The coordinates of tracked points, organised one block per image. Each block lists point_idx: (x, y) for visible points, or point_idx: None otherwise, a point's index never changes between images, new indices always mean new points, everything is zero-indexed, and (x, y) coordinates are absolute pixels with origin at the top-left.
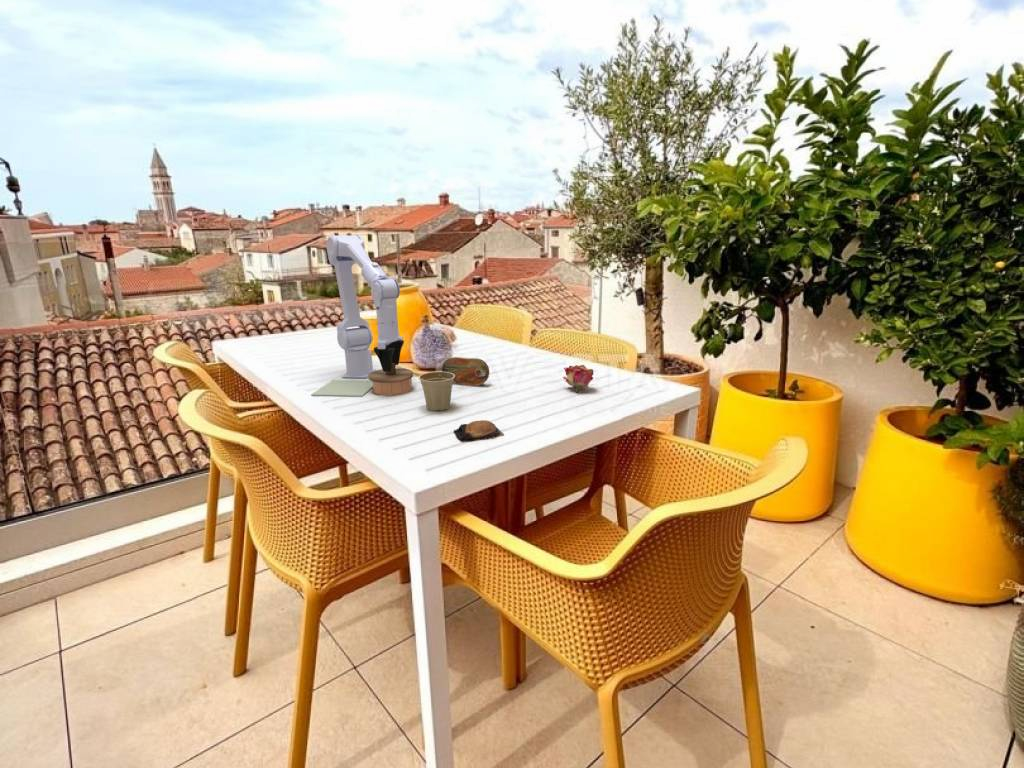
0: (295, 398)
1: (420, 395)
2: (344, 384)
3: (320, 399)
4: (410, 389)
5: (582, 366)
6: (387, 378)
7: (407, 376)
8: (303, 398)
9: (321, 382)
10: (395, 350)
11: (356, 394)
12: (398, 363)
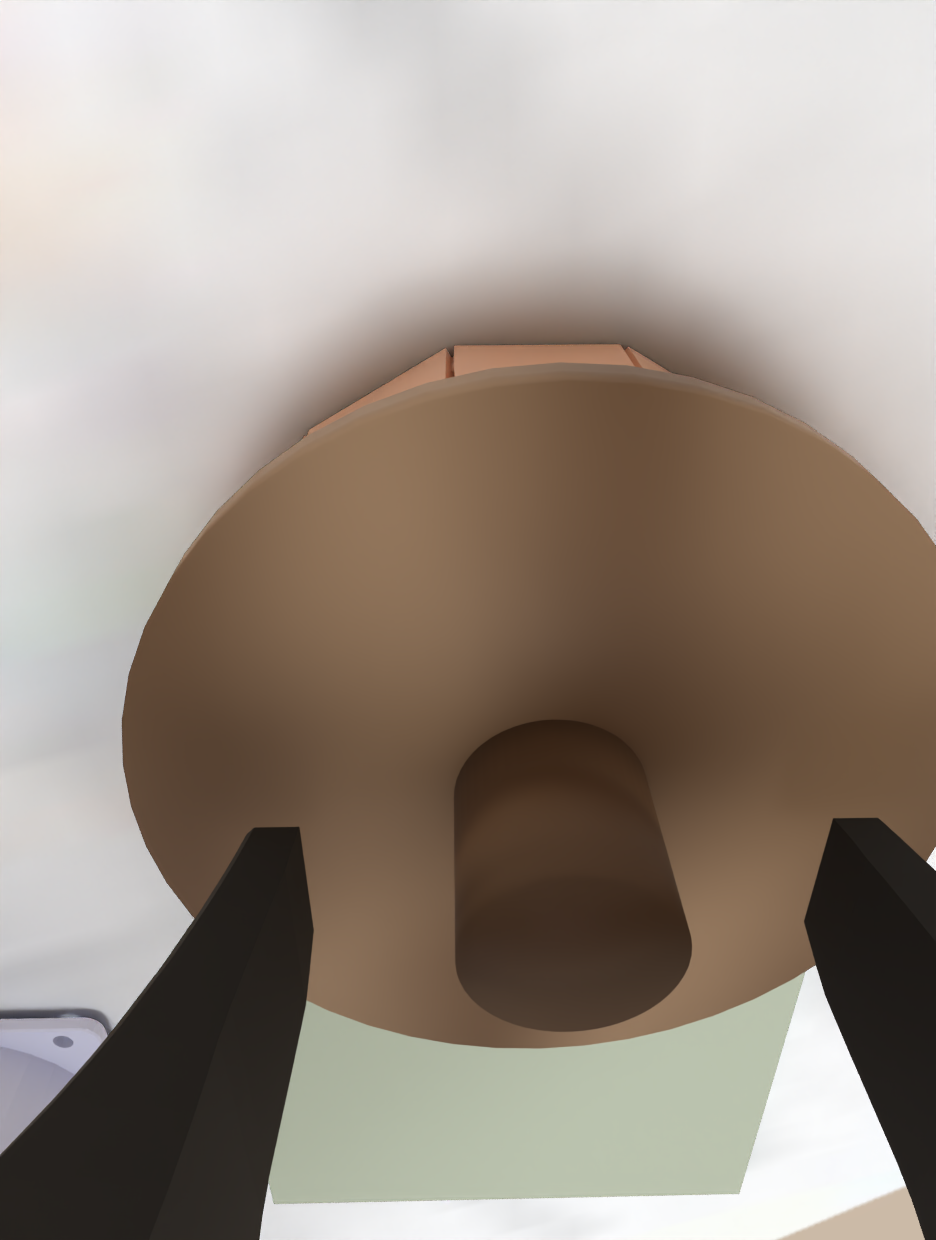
0: (790, 1229)
1: (905, 47)
2: (413, 1099)
3: (851, 1107)
4: (560, 347)
5: None
6: (877, 764)
7: (777, 443)
8: (799, 1196)
9: (330, 1234)
10: (214, 1213)
11: None
12: (271, 841)
